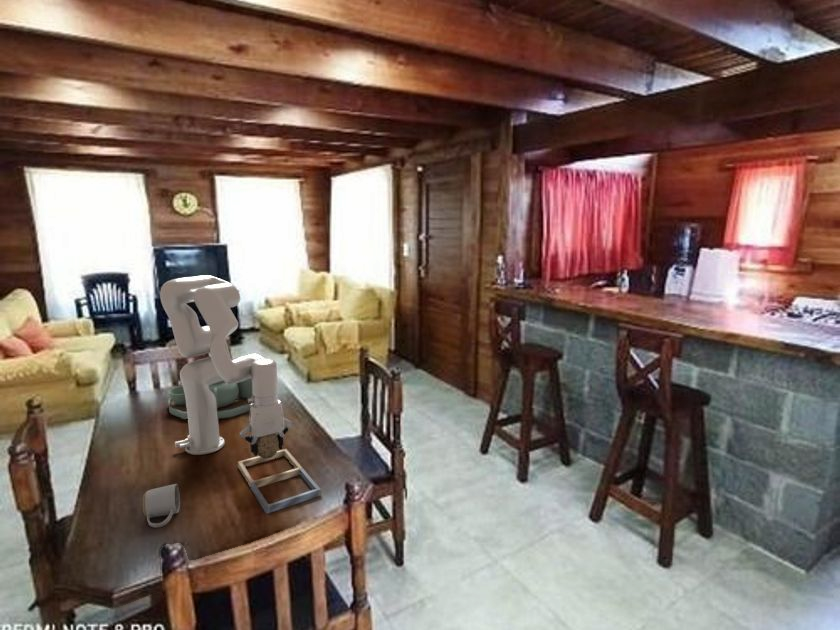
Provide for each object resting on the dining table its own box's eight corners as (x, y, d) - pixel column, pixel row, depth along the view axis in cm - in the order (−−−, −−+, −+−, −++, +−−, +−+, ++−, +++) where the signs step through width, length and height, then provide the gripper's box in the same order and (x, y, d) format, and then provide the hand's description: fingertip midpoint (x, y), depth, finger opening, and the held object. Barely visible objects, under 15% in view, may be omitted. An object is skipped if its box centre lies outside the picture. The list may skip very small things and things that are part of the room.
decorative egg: (266, 449, 158) (265, 421, 156) (283, 454, 155) (283, 426, 153) (250, 459, 151) (249, 430, 149) (269, 465, 149) (268, 435, 147)
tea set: (244, 381, 237) (241, 349, 234) (282, 404, 209) (280, 368, 205) (155, 401, 211) (151, 365, 208) (185, 431, 182) (181, 390, 179)
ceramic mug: (148, 508, 134) (145, 483, 132) (181, 502, 137) (178, 478, 135) (141, 532, 124) (137, 506, 122) (176, 525, 127) (173, 499, 125)
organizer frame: (266, 514, 132) (265, 507, 131) (238, 467, 156) (237, 461, 155) (321, 495, 140) (320, 489, 140) (286, 454, 165) (286, 448, 164)
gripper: (239, 408, 141) (242, 463, 145) (296, 397, 151) (298, 448, 155) (233, 400, 147) (236, 452, 151) (288, 389, 157) (290, 439, 161)
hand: (267, 450), depth 153 cm, fingers closed on decorative egg, 7 cm apart
